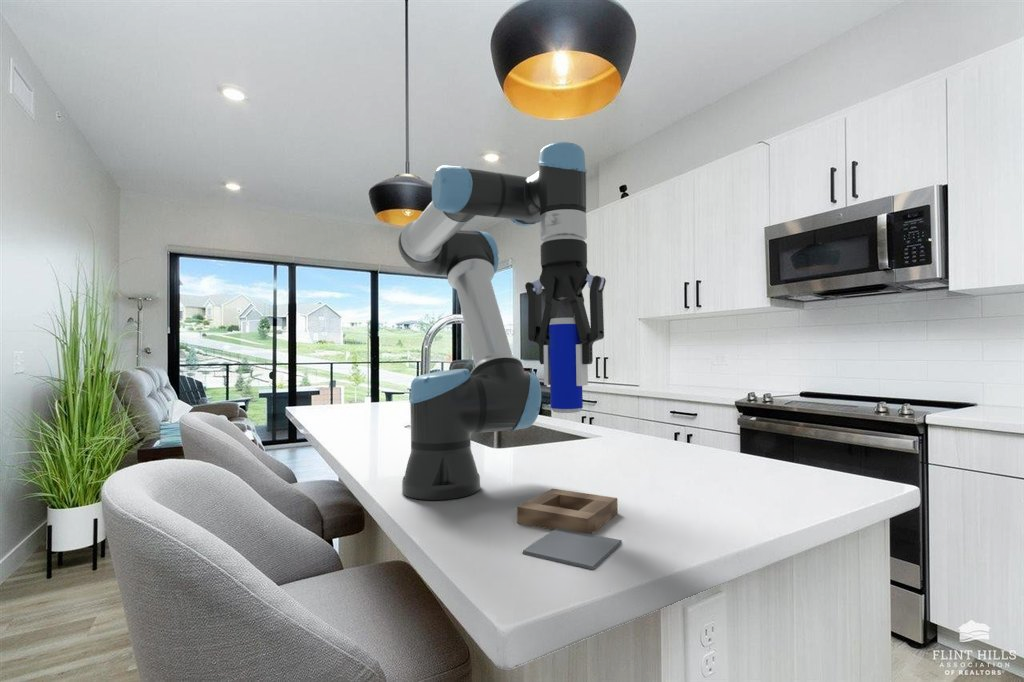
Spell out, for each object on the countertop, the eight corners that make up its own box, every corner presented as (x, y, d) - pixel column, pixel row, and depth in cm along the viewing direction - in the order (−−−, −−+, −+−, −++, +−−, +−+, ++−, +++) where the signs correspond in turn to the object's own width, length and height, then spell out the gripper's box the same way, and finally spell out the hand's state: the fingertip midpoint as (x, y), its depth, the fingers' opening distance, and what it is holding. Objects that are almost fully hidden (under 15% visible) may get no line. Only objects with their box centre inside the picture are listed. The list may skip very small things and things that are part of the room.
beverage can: (564, 408, 85) (562, 320, 85) (589, 410, 81) (587, 318, 82) (544, 411, 81) (542, 319, 82) (569, 414, 78) (567, 317, 78)
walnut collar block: (517, 522, 79) (517, 506, 79) (552, 502, 89) (552, 488, 89) (588, 536, 72) (587, 518, 72) (617, 513, 83) (617, 498, 83)
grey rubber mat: (522, 553, 67) (522, 550, 67) (557, 530, 75) (557, 527, 75) (592, 569, 61) (592, 566, 61) (621, 542, 70) (621, 539, 70)
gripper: (504, 244, 83) (506, 385, 83) (607, 229, 74) (610, 388, 73) (527, 252, 90) (529, 382, 89) (625, 238, 80) (627, 384, 80)
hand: (565, 384), depth 81 cm, fingers closed on beverage can, 5 cm apart
